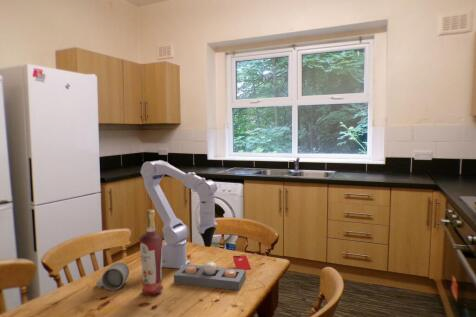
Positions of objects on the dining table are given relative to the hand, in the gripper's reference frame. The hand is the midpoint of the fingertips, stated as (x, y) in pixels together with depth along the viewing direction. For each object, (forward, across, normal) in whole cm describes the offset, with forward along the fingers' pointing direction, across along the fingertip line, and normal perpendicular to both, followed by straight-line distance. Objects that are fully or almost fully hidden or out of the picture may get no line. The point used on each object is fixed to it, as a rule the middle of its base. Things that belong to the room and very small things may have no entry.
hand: (207, 246), depth 128 cm
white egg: (+6, -9, -4) cm, 12 cm away
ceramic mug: (+10, -21, +28) cm, 36 cm away
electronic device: (+10, +10, -11) cm, 18 cm away
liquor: (+10, -22, +12) cm, 27 cm away
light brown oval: (+9, -9, -12) cm, 17 cm away
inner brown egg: (+9, -9, +4) cm, 13 cm away
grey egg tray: (+9, -9, -4) cm, 14 cm away
